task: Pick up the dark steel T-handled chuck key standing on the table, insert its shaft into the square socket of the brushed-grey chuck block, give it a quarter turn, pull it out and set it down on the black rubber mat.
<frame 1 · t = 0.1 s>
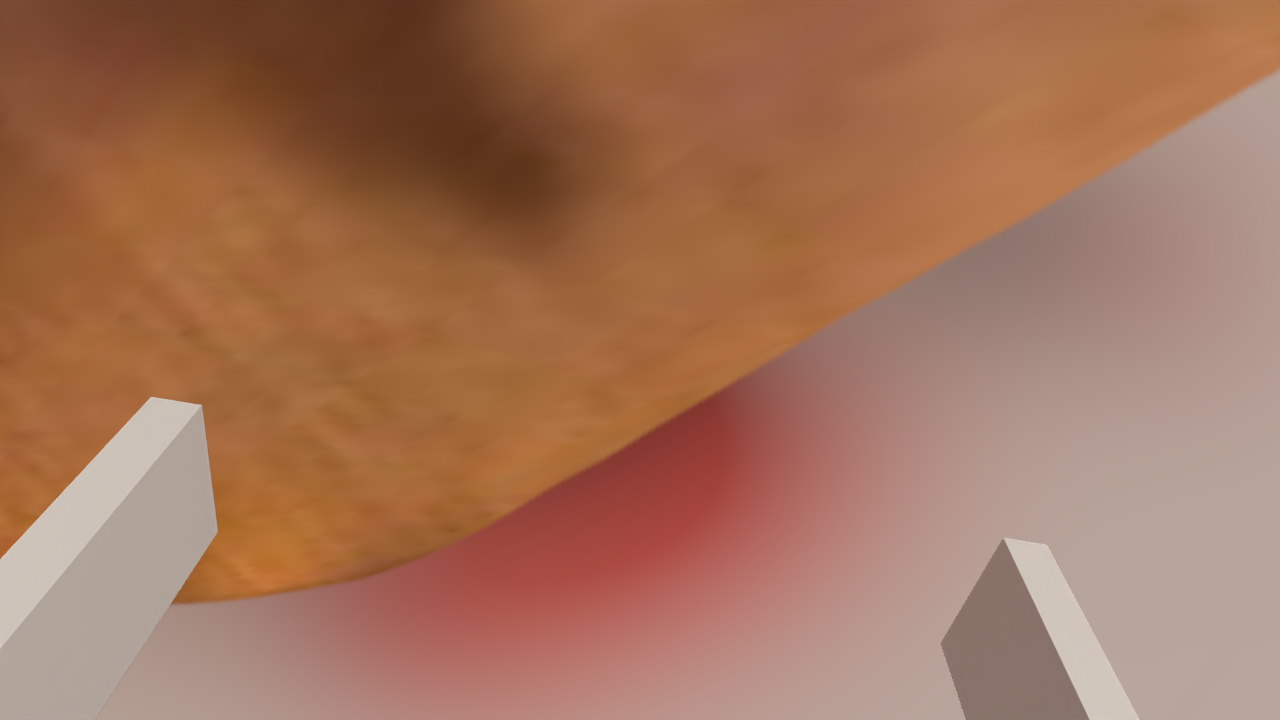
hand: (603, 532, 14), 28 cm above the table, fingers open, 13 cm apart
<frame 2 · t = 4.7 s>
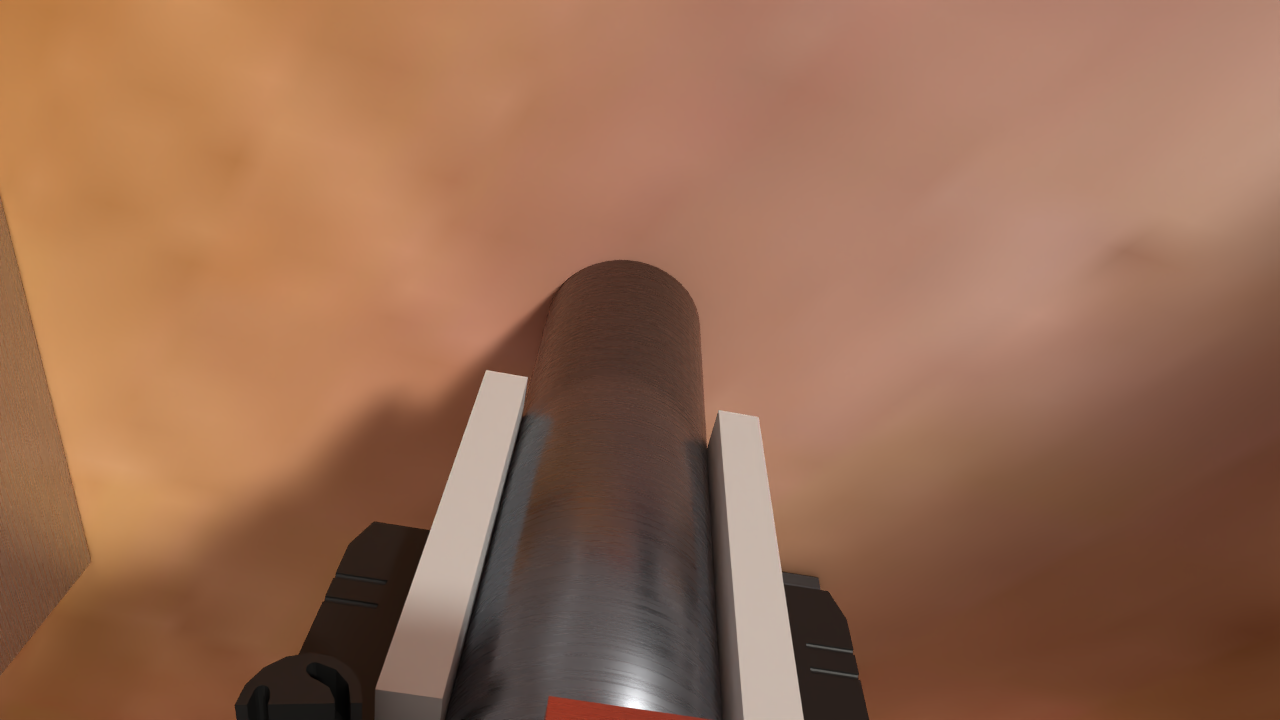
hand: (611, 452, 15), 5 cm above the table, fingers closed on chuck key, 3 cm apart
chuck key: (623, 329, 19), on the table, touching gripper
mat: (618, 661, 26), on the table
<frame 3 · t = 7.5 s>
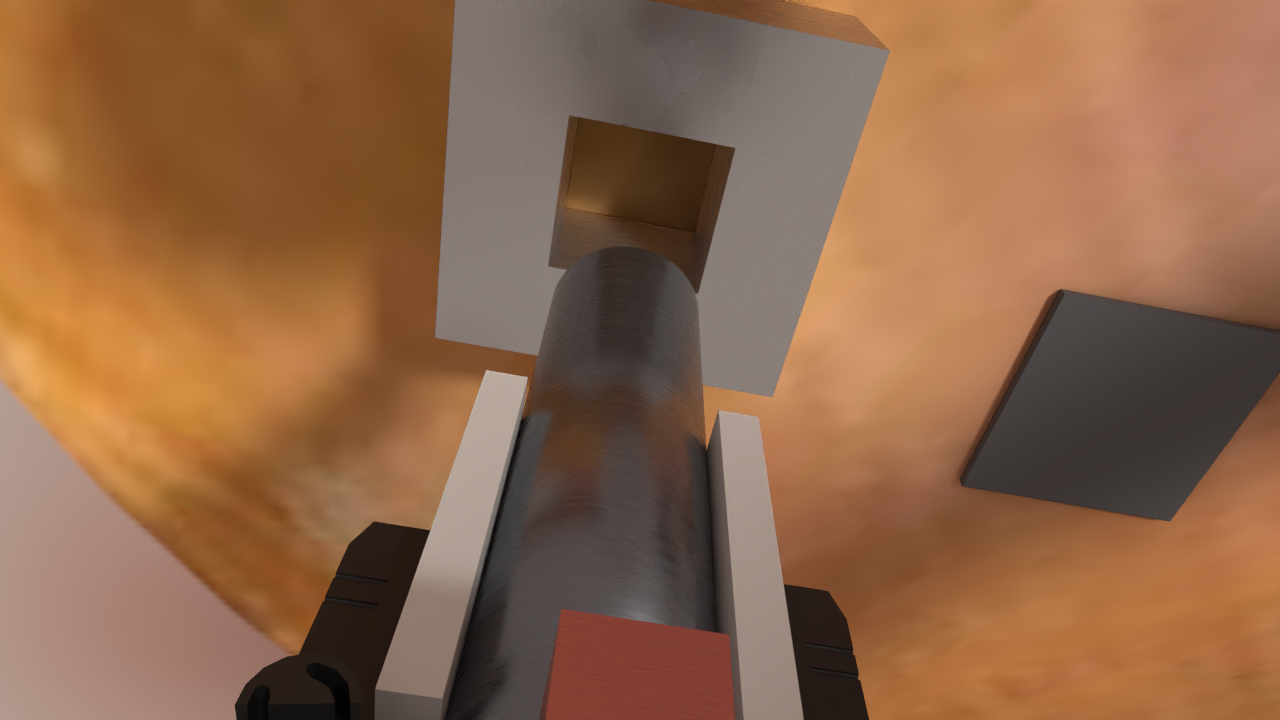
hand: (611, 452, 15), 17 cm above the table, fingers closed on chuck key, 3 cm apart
chuck block: (642, 156, 30), on the table
chuck key: (624, 313, 20), point 11 cm above the table, touching gripper
mat: (1117, 412, 35), on the table
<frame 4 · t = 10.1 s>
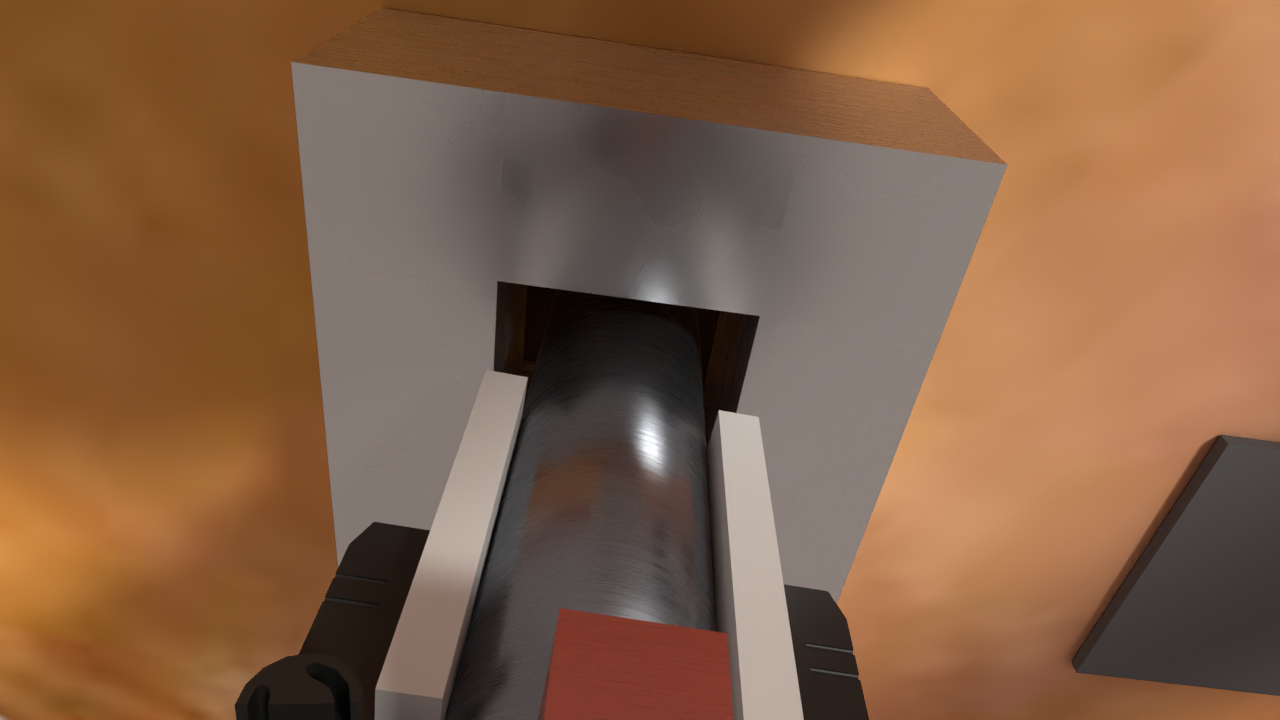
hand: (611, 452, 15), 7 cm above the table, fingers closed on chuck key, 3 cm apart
chuck block: (625, 291, 21), on the table
chuck key: (624, 313, 20), point 1 cm above the table, touching gripper
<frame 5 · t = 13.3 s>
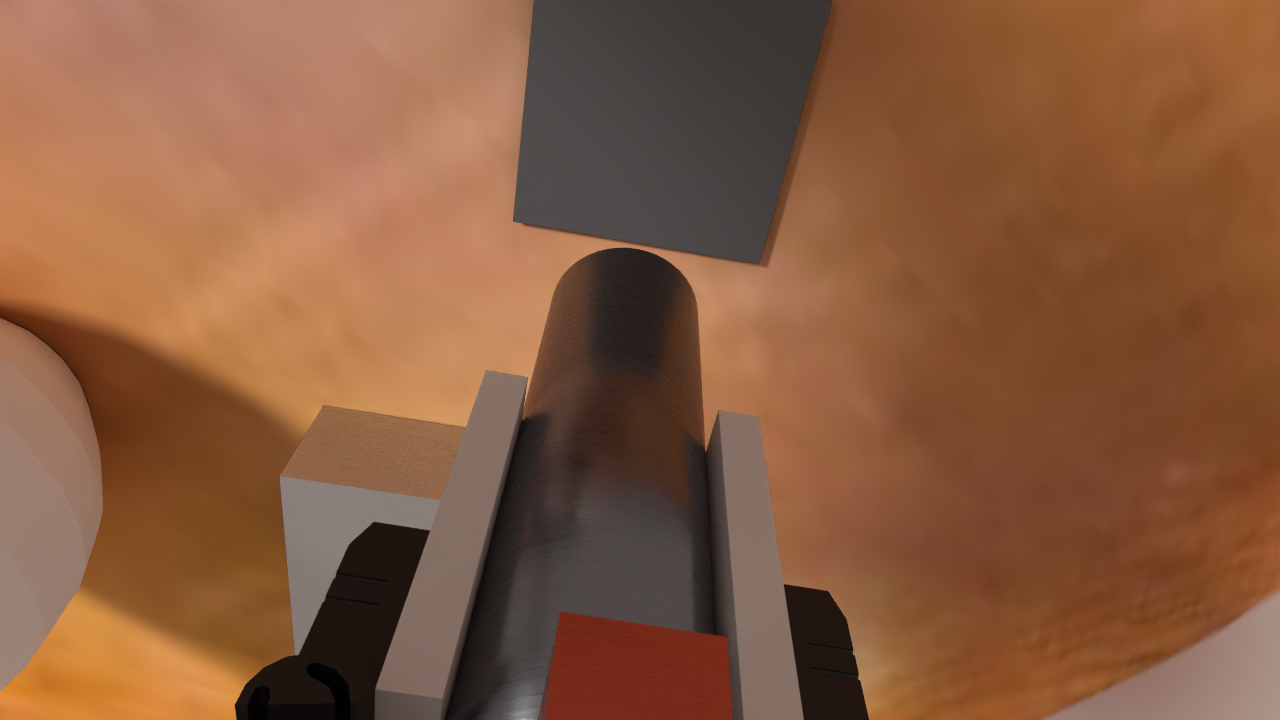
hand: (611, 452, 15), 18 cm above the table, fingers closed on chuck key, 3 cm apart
chuck block: (446, 518, 42), on the table
chuck key: (624, 314, 20), point 13 cm above the table, touching gripper
mat: (660, 116, 30), on the table
when the fingers open (6 cm above the table, at t = 16.0 s): chuck key stays where it is, resting on mat.
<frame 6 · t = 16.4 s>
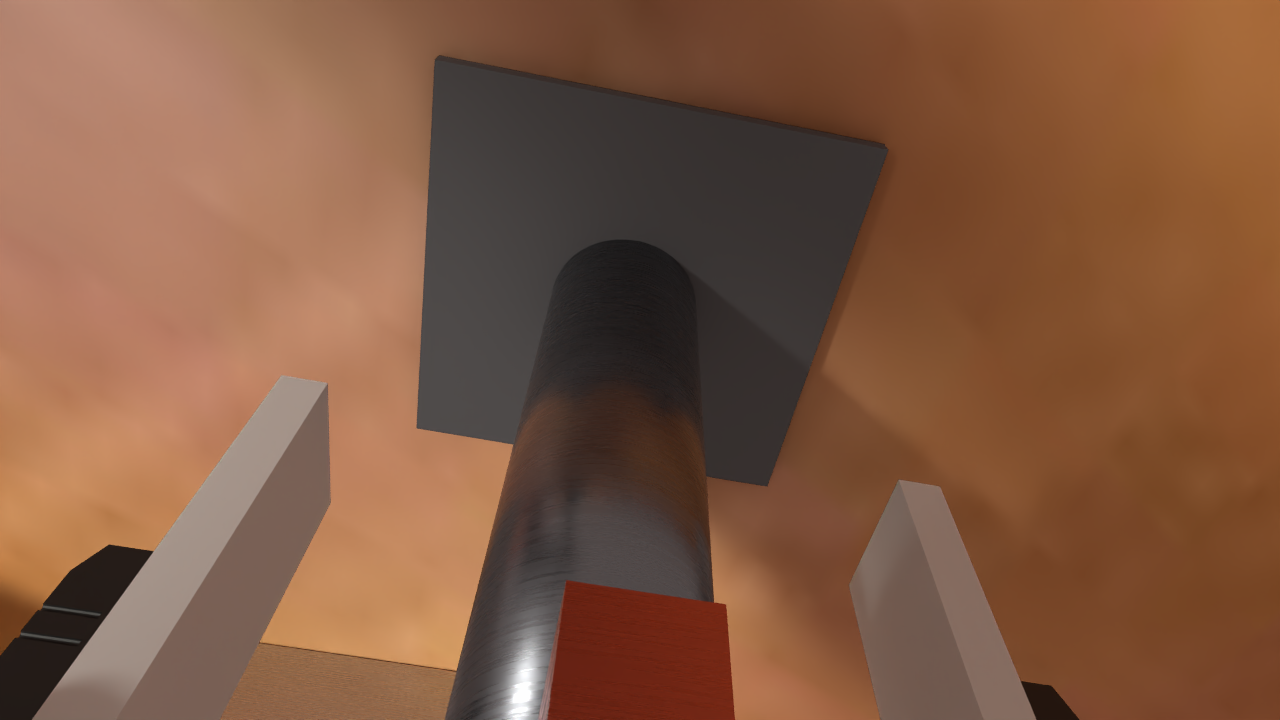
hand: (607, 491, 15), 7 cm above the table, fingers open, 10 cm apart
chuck key: (623, 305, 20), resting on mat
mat: (626, 297, 21), on the table
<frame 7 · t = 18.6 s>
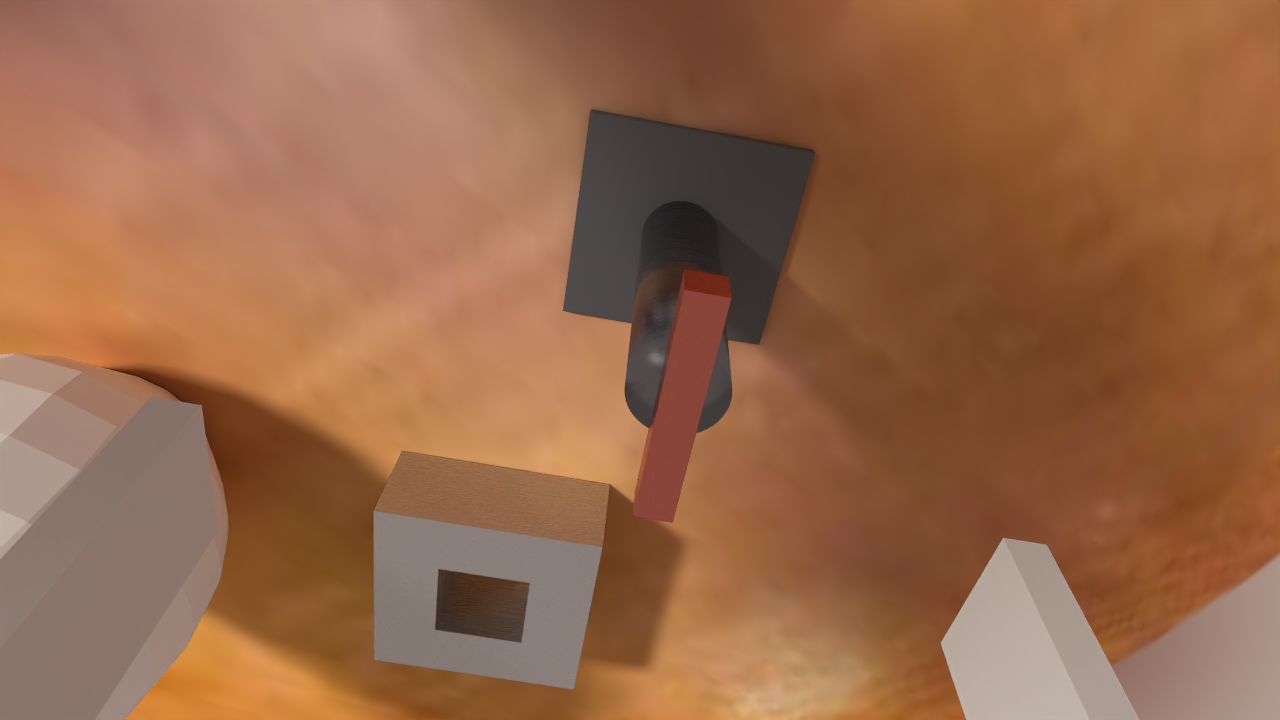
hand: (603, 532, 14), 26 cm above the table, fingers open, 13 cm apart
white vase: (123, 430, 47), on the table
chuck block: (498, 542, 50), on the table
chuck key: (679, 237, 38), resting on mat
mat: (681, 233, 39), on the table
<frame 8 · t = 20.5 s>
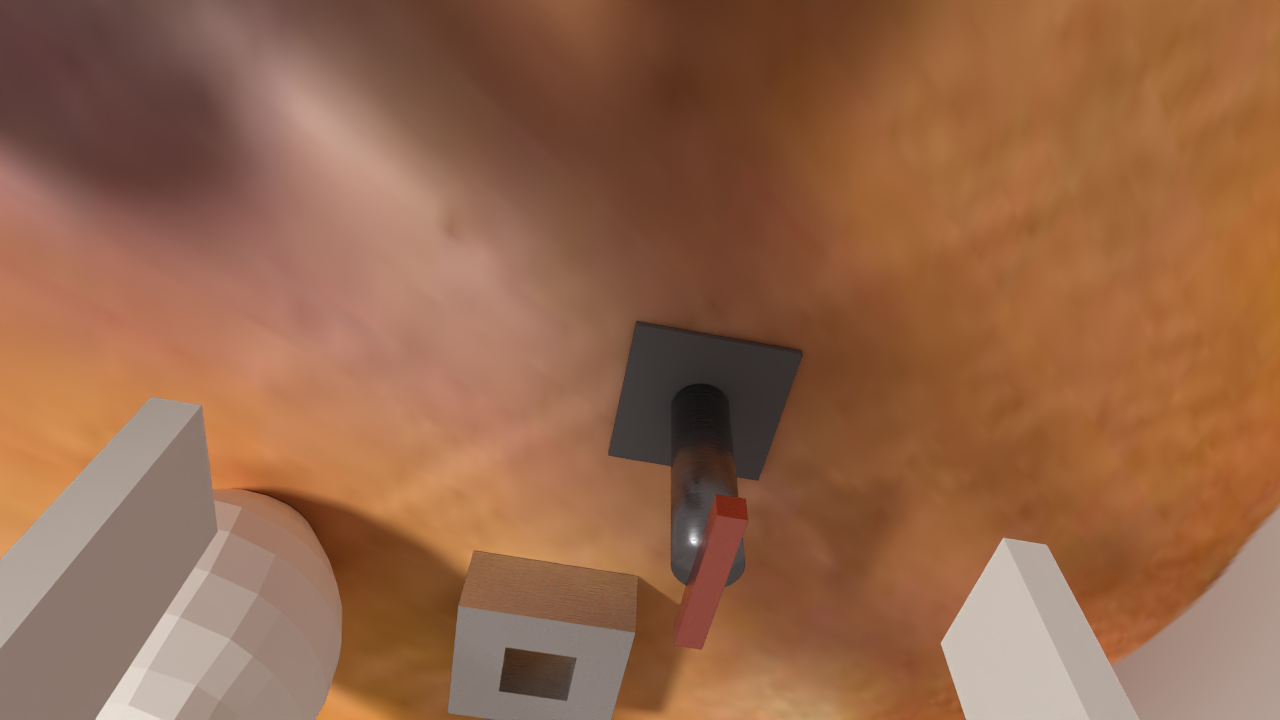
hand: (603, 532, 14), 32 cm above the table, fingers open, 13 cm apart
white vase: (249, 533, 59), on the table
chuck block: (546, 618, 62), on the table
chuck key: (700, 407, 51), resting on mat
mat: (700, 403, 51), on the table
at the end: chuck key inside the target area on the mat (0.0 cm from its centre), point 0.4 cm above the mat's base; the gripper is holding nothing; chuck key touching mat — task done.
